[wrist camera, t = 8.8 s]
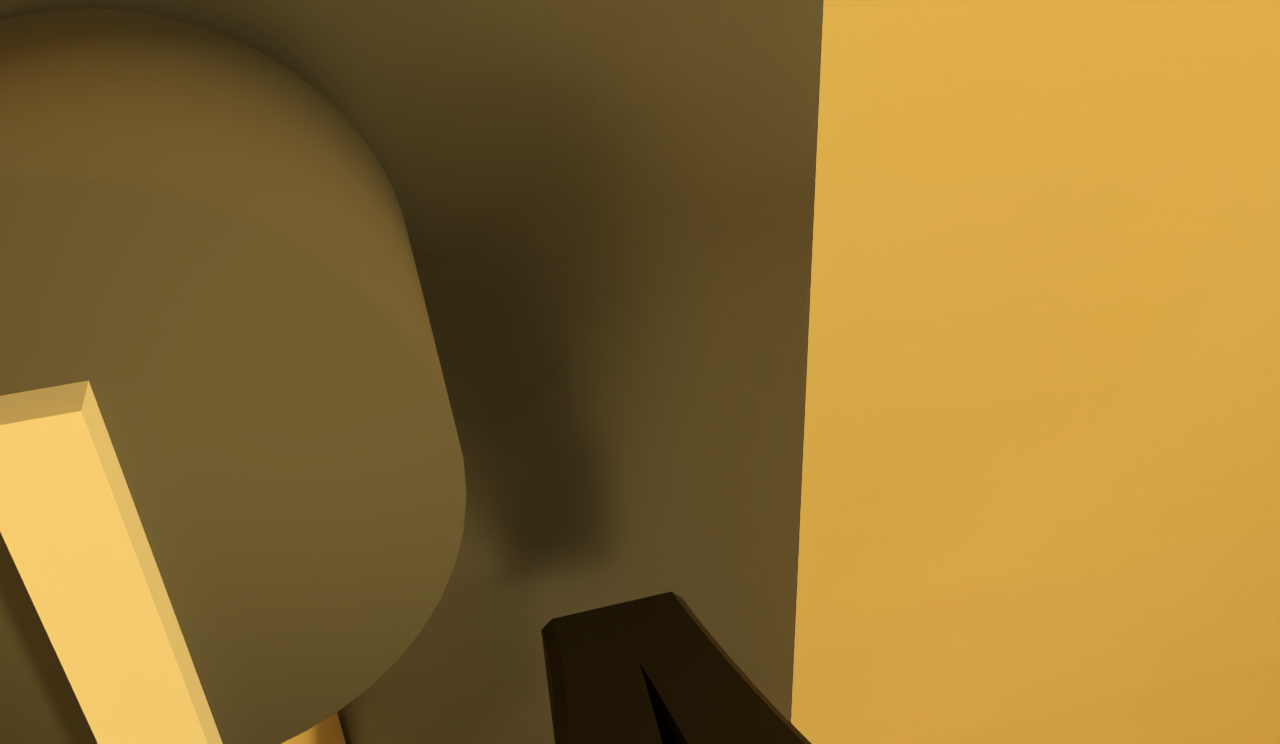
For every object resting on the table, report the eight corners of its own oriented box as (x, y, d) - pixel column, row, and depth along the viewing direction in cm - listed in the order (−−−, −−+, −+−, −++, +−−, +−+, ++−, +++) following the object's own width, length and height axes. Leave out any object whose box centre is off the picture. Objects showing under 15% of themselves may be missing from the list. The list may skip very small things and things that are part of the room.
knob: (-305, 47, 8) (-653, 287, 5) (364, -25, 8) (416, 138, 6) (107, 874, 12) (61, 1232, 10) (500, 773, 13) (564, 1072, 11)
